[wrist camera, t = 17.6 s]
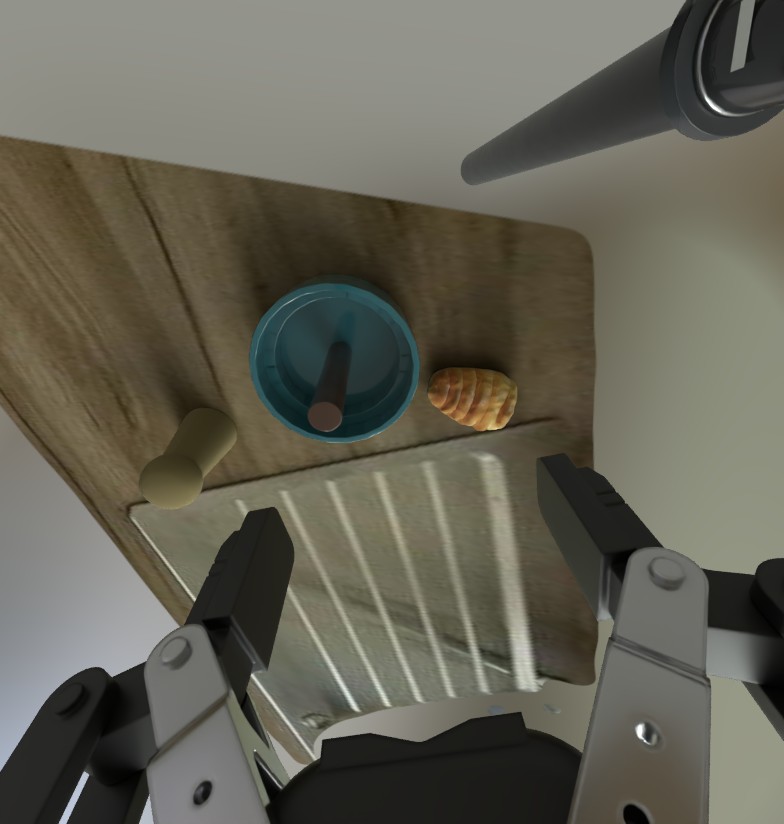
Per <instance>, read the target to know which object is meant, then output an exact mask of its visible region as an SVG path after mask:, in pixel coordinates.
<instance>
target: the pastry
mask: <svg viewBox="0 0 784 824" xmlns="http://www.w3.org/2000/svg"><path fill="white" fill-rule="evenodd" d="M427 394H428V397H429V399H430V402H431V403H432V404H433V405H435V406H436V407H438V408H439V409H440V411H441V412H442V413H444V414H446V415H448V416H449V417H450V418H452V419H453V420H456V421H457V422H458V423H460V424H463V425H468V426H473V427H474V428H475V429H476V430H478V431H483V430H486V429H488V430H494V429H501V428H502V427H504V426H505V425H506V423H507V422H508V420H509V419H510V417H511V415H512V414H513V412H514V406H515V404H516V401H517V385H516V384H515V382H513V381H512V380H510V379H509V378H508V377H506V376H505V375H504V374H503V373H501V372H497V371H493V370H488V369H480V368H479V369H478V368H456V367H450V368H446V369H442V370H439V371H437V372H436V373H434V374H433V375H432V377H431V379H430V381H429V385H428V391H427Z"/></svg>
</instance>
